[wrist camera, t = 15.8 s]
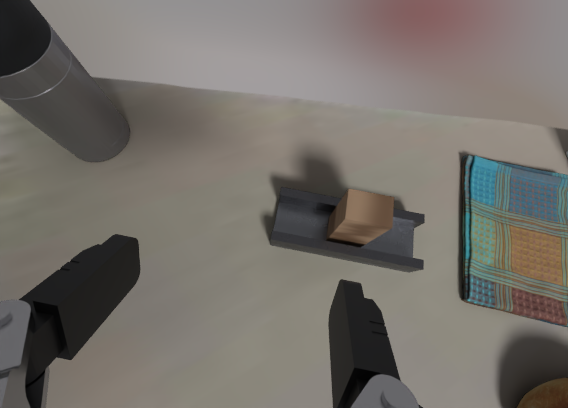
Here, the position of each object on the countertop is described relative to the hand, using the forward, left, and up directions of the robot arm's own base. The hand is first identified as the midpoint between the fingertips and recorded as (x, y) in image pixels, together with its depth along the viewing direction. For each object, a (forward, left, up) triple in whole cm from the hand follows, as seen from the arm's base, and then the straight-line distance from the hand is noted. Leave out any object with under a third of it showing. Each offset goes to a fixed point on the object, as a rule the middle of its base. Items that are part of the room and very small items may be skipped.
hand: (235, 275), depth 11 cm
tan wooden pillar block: (+10, +11, -28) cm, 31 cm away
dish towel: (+36, +16, -29) cm, 49 cm away
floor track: (+10, +11, -29) cm, 32 cm away
